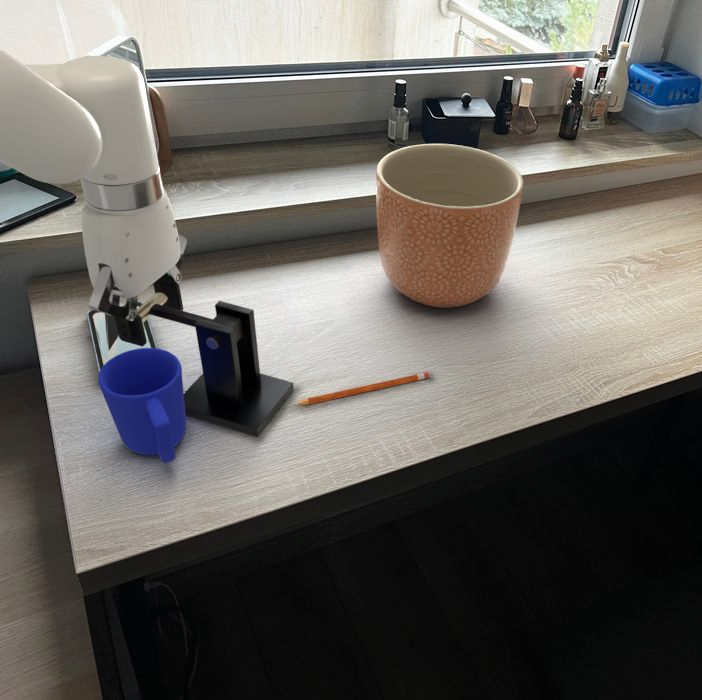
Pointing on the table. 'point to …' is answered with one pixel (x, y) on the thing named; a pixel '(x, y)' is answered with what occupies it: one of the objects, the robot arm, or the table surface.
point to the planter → (445, 221)
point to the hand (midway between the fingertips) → (152, 324)
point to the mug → (146, 400)
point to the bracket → (233, 377)
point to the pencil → (363, 389)
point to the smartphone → (113, 336)
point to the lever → (184, 314)
